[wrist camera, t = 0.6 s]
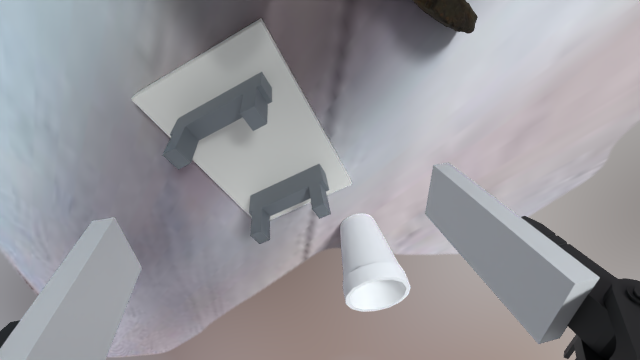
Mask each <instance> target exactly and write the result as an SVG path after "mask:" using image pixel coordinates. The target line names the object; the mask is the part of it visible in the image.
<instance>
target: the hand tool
mask: <svg viewBox="0 0 640 360" xmlns="http://www.w3.org/2000/svg"><path fill="white" fill-rule="evenodd" d="M412 1H414V2H415V3H416V4H417V5H418V6H419V7H420V8H421V9H422V10H423V11H424V12H425V13H427V14H429V15H430V16H431V17H433V18H434V19H435V20H437V21H438V22H440V23H442V24H443V25H445V26H446V27H450V28H452V29H453V30H455V31H457V32H461V31H462V32H465V33H472V32H473V31H474V28H475V23H476V20H477V15H476V14H475V12H474V11H473V10H472V8H471V6H470V5H469V3H467V2H466V1H465V0H412Z"/></svg>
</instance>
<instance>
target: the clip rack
mask: <svg viewBox="0 0 640 360" xmlns="http://www.w3.org/2000/svg"><path fill="white" fill-rule="evenodd" d="M131 100H132V101H133V102H134V103H135V104H136V105H137V106H138V107H139V108H140V109H141V110H143V111H144V112H145V113H146V114H147V115H148V116H149V117H150V118H151V119H152V120H153V121H154V122H155V123H156V124H157V125H158V126H159V127H160V128H161V129H162V130H163V131H164V132H165V133H166V134H167V135H168V136H169V137H170V138H171V139H170V141H169V143H168V145H167V147H166V149H165V151H164V153H163V156H164V157H165V158H166V159H167V160H168V161H169V162H171V163H172V164H173V165H174V166H175V167H176V168H177V169H178V170H179V169H181V168H183V167H184V166H186V165H188V164H190V163H191V162H192V160H193V161H194V162H195V163H196V164H197V165H198V166H199V167H200V168H201V169H202V170H203V171H204V172H205V173H206V174H207V175H208V176H209V177H210V178H211V179H212V180H214V181H215V182H216V183H217V184H218V185H219V186H220V187H221V188H222V189H223V190H224V191H225V192H226V193H227V194H228V195H229V196H230V197H231V198H232V199H233V200H234V201H235V202H236V203H237V204H238V205H239V206H240V207H241V208H242V209H243V210H244V211H245V212H246V213H247V214H248V215H249V216H250V217H251V218H252V221H251V235H250V236H251V237H252V238H254V239H255V240H256V241H257V242H258V243H259V244H261V243H263V242H266V241H268V240H270V220H273V219H275V218H277V217H279V216H282V215H284V214H286V213H289V212H291V211H293V210H295V209H298V208H300V207H302V206H304V205H307V204H309V203H311V204H312V209H313V211H314V212H315V213H316V215H317V216H318V217H319V219H320V218H322V217H325V216H327V215H329V214H331V213H330V208H329V204H328V199H327V195H330V194H332V193H334V192H336V191H339V190H341V189H343V188H346V187H348V186H350V185H352V182H351V179H350V177H349V175H348V173H347V171H346V169H345V168H344V166H343V164H342V162H341V160H340V159H339V157H338V155H337V153H336V151H335V150H334V148H333V146H332V144H331V142H330V141H329V139H328V137H327V135H326V133H325V132H324V130H323V128H322V126H321V124H320V123H319V121H318V119H317V117H316V115H315V114H314V112H313V110H312V108H311V106H310V105H309V103H308V101H307V99H306V97H305V96H304V94H303V92H302V90H301V88H300V87H299V85H298V83H297V81H296V79H295V78H294V76H293V74H292V72H291V70H290V69H289V67H288V65H287V63H286V61H285V60H284V58H283V56H282V54H281V52H280V51H279V49H278V47H277V45H276V43H275V42H274V40H273V38H272V36H271V34H270V33H269V31H268V29H267V27H266V25H265V24H264V22H263V20H262V18H261V19H259V20H257V21H256V22H254V23H252V24H251V25H249V26H247V27H246V28H244V29H242V30H241V31H239V32H237V33H236V34H234V35H232V36H231V37H229V38H227V39H226V40H224V41H222V42H221V43H219V44H217V45H216V46H214V47H212V48H211V49H209V50H207V51H206V52H204V53H202V54H201V55H199V56H197V57H196V58H194V59H192V60H191V61H189V62H187V63H186V64H184V65H182V66H180V67H179V68H177V69H175V70H174V71H172V72H170V73H169V74H167V75H165V76H164V77H162V78H160V79H159V80H157V81H155V82H154V83H152V84H150V85H149V86H147V87H145V88H144V89H142V90H140V91H139V92H137V93H136V94H135V95H134V96H133V97H132V98H131Z"/></svg>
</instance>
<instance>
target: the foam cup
mask: <svg viewBox="0 0 640 360" xmlns="http://www.w3.org/2000/svg"><path fill="white" fill-rule="evenodd" d="M340 237H341V251H342V265H343V291H344V297H345V302H346V304H347V305H348V306H349V307H350V308H351V309H354V310H358V311H377V310H381V309H385V308H389V307H391V306H393V305H395V304H397V303H399V302H401V301H402V300H403V299H404V298H405V297H406V296H407V295H408V294H409V291H410V288H411V286H410V284H409V281H408V279H407V276H406V274H405V272H404V270H403V269H402V267H401V266H400V265H399V263H398V261H397V260H396V258H395V256H394V254H393V252H392V251H391V249H390V247H389V245H388V243H387V242H386V240H385V238H384V236H383V234H382V233H381V231H380V229H379V227H378V225H377V224H376V222H375V220H374V219H373V217H372V216H370V215H368V214H355V215H351V216H349V217H348V218H346V219H345V220H343V222H342V223H341V225H340Z"/></svg>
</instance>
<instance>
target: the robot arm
mask: <svg viewBox="0 0 640 360" xmlns="http://www.w3.org/2000/svg"><path fill="white" fill-rule="evenodd" d="M425 214H426V215H427V217H428V218H429V219H430V220H431V221H432V222H433V224H434V225H435V226H436V227H437V228H438V229H439V230H440V232H441V233H442V234H443V235H444V236H445V237H446V238H447V240H448V241H449V242H450V243H451V244H452V245H453V247H454V248H455V249H456V250H457V251H458V252H459V253H460V255H461V256H462V257H463V258H464V259H465V260H466V261H467V263H468V264H469V265H470V266H471V267H472V268H473V269H474V271H475V272H476V273H477V274H478V275H479V276H480V277H481V279H482V280H483V281H484V282H485V283H486V284H487V285H488V287H489V288H490V289H491V290H492V291H493V292H494V294H495V295H496V296H497V297H498V298H499V299H500V301H501V302H502V303H503V304H504V305H505V306H506V307H507V309H508V310H509V311H510V312H511V313H512V314H513V315H514V317H515V318H516V319H517V320H518V321H519V322H520V323H521V325H522V326H523V327H524V328H525V329H526V330H527V332H528V333H529V334H530V335H531V336H532V337H533V338H534V340H535V341H536V342H537V343H538V344H541V343H544V342H548V341H551V340H554V339H558V338H560V337H561V336H562V334H563V332H564V331H565V329H566V328H567V326H569V328H571V329H572V330H573V331H574V332H575V333H576V336H575V337H574V338H573V340H572V341H571V343H570V344H569V345H568V347H567V348H566V350H565V351H564V358H567V359H568V358H569V357H570V356H571V355H572V353H573V352H574V351H575V353H576V359H575V360H640V281H637V280H632V279H617V278H616V277H614V276H613V275H611V274H610V273H608V272H607V271H606V270H604V269H603V268H602V267H600V266H599V265H598V264H596V263H595V262H593V261H592V260H591V259H589V258H588V257H587V256H585V255H584V254H582V253H581V252H580V251H578V250H577V249H576V248H574V247H573V246H571V245H570V244H567V242H566V241H565V240H563V239H562V238H560V237H559V236H556V235H555V233H554V232H552V231H551V230H549V229H548V228H547V227H545V226H544V225H543V224H541V223H539V222H537V221H535V220H532V219H530V218H528V217H526V216H523V217H520V216H518V215H517V214H516V213H515V212H513V211H512V210H511V209H509V208H508V207H507V206H505V205H504V204H503V203H501V202H500V201H499V200H497V199H496V198H495V197H494V196H492V195H491V194H490V193H488V192H487V191H486V190H484V189H483V188H482V187H480V186H479V185H478V184H476V183H475V182H474V181H473V180H471V179H470V178H469V177H467V176H466V175H465V174H463V173H462V172H461V171H459V170H458V169H457V168H455V167H454V166H453V165H451V164H450V163H443V164H437V165H433V170H432V176H431V182H430V188H429V194H428V200H427V206H426V211H425ZM141 269H142V267H141V265H140V263H139V261H138V260H137V258H136V256H135V254H134V252H133V250H132V248H131V247H130V245H129V243H128V241H127V239H126V237H125V235H124V234H123V232H122V230H121V228H120V226H119V224H118V222H117V221H116V219H115V217H113V218H106V219H100V220H94V221H92V222H91V223H90V225H89V226H88V227H87V229H86V230H85V232H84V233H83V234H82V236H81V237H80V239H79V240H78V241H77V243H76V244H75V245H74V247H73V248H72V250H71V251H70V252H69V254H68V255H67V257H66V258H65V259H64V261H63V262H62V264H61V265H60V266H59V268H58V269H57V270H56V272H55V273H54V275H53V276H52V277H51V279H50V280H49V282H48V283H47V284H46V286H45V287H44V288H43V290H42V291H41V293H40V294H39V295H38V297H37V298H36V300H35V301H34V302H33V304H32V305H31V307H30V308H29V310H28V311H27V312H26V314H25V315H24V316H23V318H22V319H21V320H19V321H14V322H10V323H9V324H8V325H7V326H6V327H4V328H3V329H2V330H1V331H0V360H106V357H107V355H108V352H109V350H110V347H111V345H112V342H113V340H114V337H115V335H116V332H117V330H118V327H119V325H120V322H121V320H122V317H123V315H124V312H125V309H126V307H127V304H128V302H129V299H130V297H131V294H132V292H133V289H134V287H135V284H136V282H137V279H138V277H139V274H140V272H141Z"/></svg>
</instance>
